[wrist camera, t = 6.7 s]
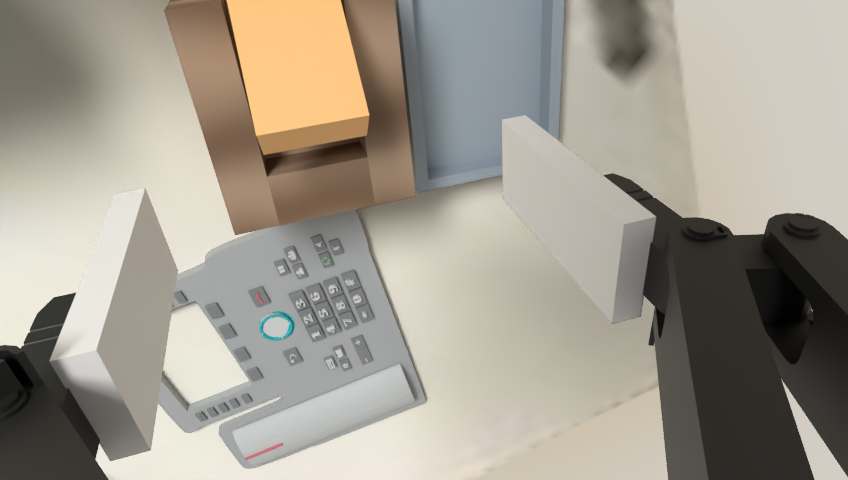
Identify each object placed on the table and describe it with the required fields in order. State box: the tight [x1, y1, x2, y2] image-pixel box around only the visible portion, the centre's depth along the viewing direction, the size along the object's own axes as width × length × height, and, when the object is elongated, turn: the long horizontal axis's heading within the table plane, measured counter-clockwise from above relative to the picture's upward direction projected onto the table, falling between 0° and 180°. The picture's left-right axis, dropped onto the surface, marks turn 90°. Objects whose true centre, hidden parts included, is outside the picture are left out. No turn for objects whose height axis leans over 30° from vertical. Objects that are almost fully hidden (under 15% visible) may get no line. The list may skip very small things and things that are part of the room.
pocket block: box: [164, 0, 416, 235], centre depth 33 cm, size 12×11×8 cm
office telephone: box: [158, 209, 426, 469], centre depth 46 cm, size 23×3×20 cm
